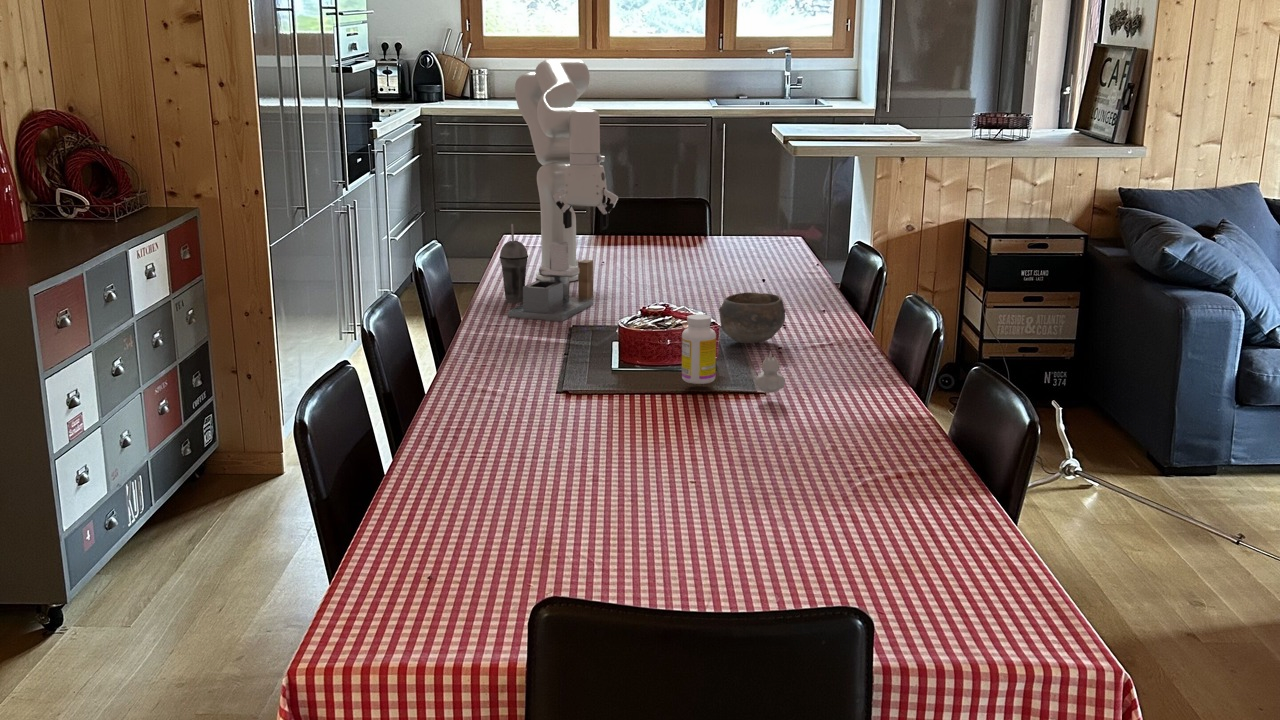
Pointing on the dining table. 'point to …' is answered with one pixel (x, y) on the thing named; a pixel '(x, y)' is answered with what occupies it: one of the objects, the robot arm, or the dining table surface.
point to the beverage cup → (513, 269)
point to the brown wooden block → (585, 279)
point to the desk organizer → (552, 290)
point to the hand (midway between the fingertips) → (585, 228)
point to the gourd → (770, 376)
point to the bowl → (752, 316)
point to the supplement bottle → (698, 350)
